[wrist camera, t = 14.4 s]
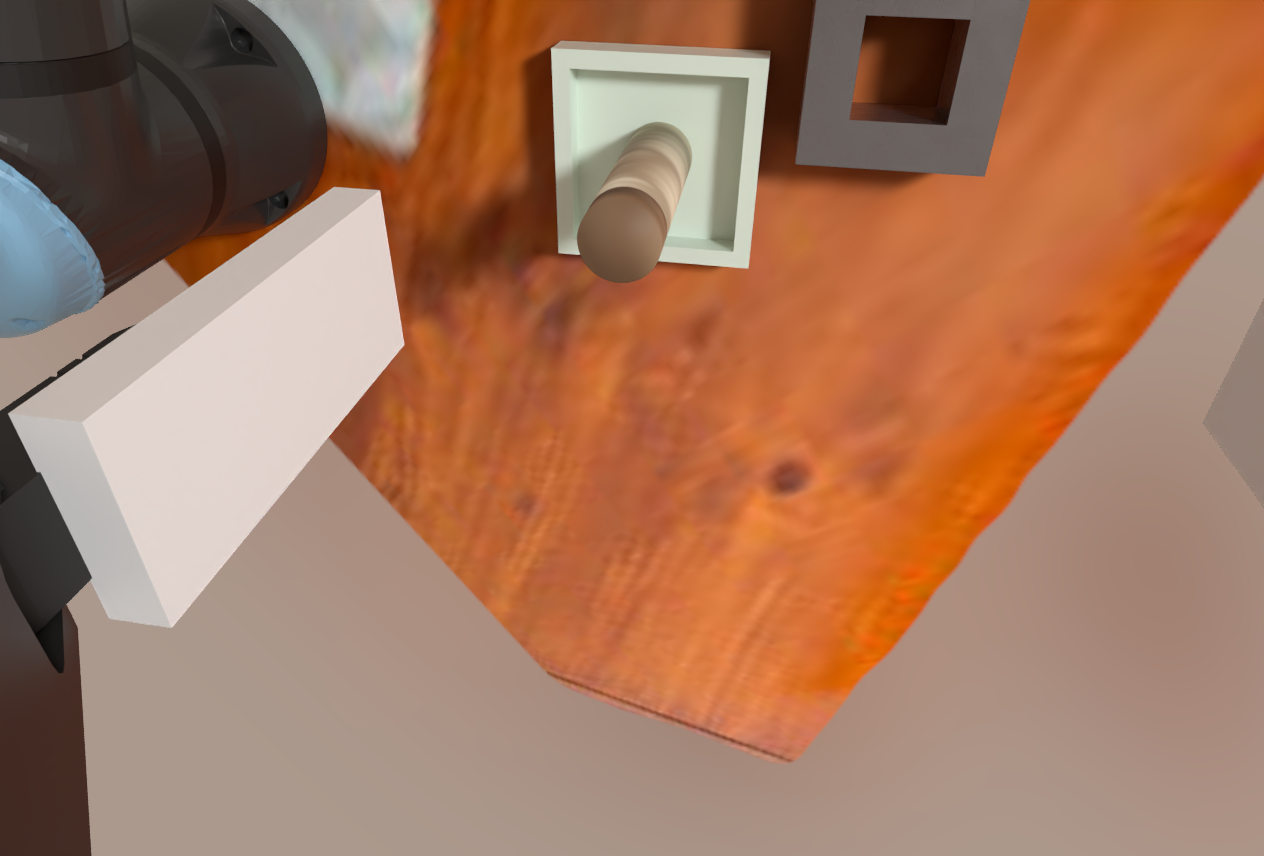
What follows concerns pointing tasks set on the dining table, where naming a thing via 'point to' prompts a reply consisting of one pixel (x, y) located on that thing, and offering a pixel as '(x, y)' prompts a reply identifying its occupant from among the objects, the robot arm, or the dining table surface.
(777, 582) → the dining table surface
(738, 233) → the tray
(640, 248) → the pin
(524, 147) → the dining table surface
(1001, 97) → the socket block
